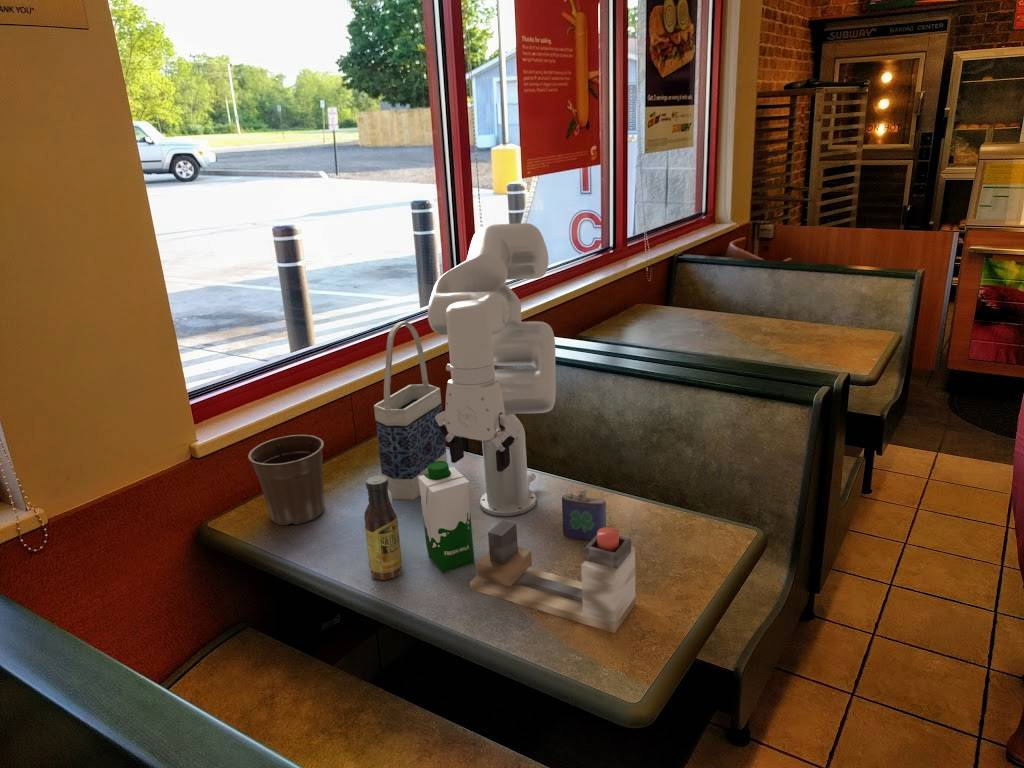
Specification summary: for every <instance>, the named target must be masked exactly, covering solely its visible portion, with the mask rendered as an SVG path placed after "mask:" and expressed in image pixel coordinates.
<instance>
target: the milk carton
mask: <svg viewBox="0 0 1024 768" xmlns="http://www.w3.org/2000/svg"><path fill="white" fill-rule="evenodd" d="M449 466H450V465H449V463H448V461H447V462H445V461H435V462H432V463H430V464H429V465H428V474H424V475H422V476H418V481H419V488H420V495H419V496H420V500H421V511H422V512H421V513H422V519H423V529H424V538H425V544H426V549H427V553H428V554H427V555H428V558H429V559H430V561H431V562H432V563H433V564H434V565H435V567H436V568H437V569H438V571H440V573H441V574H443V575H444V574H445V573H446V574H447V573H448V572H451V571H453V570H458V569H460V568H464V567H466V566H469V565H472V564H475V553H474V550H475V549H474V540H473V539H474V538H473V529H472V517H471V507H470V496H469V495H470V481H469V480H468V479H467V478H466V477H465V476H464V474H462V473H461V472H459V471H458V469H456V468H455V467H454V466H451V467H449Z"/></svg>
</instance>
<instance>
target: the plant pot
mask: <svg viewBox="0 0 1024 768" xmlns="http://www.w3.org/2000/svg"><path fill="white" fill-rule="evenodd" d="M324 446H325V444H324V440H322V439H321V438H320V437H317V436H315V435H310V434H292V435H286V436H281V437H276V438H272V439H270V440H267V441H265V442H262V443H260V444H258V445H257V446H255V447H254V448H253V449H251V450H250V451H249V453H248V456H247V457H248V461H249V462H250V463H252V467H253V469H254V472H255V475H256V476H257V477H258V481H259V484H260V488H261V490H262V493H263V496H264V500H265V504H266V505H267V509H268V512H269V516H270V517H269V518H270V520H271V521H272V522H273V523H275V524H277V525H281V526H289V524H295V525H301V524H305V523H307V522H311V521H312V520H315V519H316V518H318V517H319V516H321V514H322V513H324V509H325V508H326V506H325V505H326V503H325V493H324V492H325V491H324V480H323V479H324V478H323V466H322V465H323V464H322V463H323V459H324V458H323V448H324Z"/></svg>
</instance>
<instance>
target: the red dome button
mask: <svg viewBox="0 0 1024 768" xmlns="http://www.w3.org/2000/svg"><path fill="white" fill-rule="evenodd" d="M619 536H620V532H619V530H618V529H617V528H615V527H610V526H606V527H604V528H601V529H599V530H598V531H597V547H598V548H599V549H603V550H607V551H611V552H616V551H617V550H618V548H619Z"/></svg>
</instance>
